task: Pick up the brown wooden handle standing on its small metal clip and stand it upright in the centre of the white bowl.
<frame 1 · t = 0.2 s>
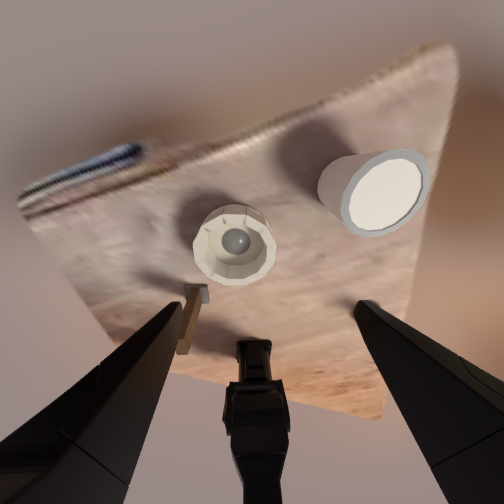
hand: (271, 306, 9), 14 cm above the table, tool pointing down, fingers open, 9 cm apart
white tapered cylinder: (341, 183, 20), on the table
white bowl: (236, 239, 23), on the table
brown wooden handle: (197, 292, 27), on the table
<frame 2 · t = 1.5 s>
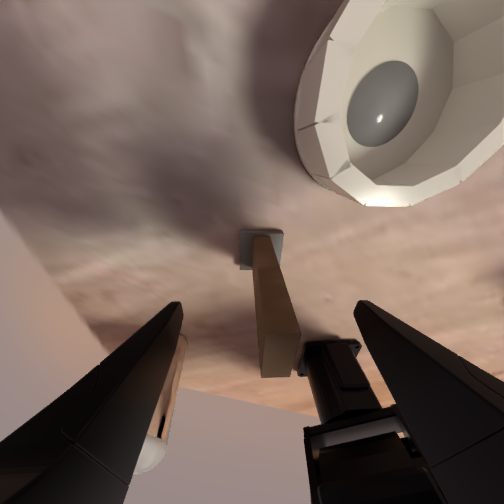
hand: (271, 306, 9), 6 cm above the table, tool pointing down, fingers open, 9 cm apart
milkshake: (171, 337, 19), on the table
white bowl: (374, 110, 10), on the table
brown wooden handle: (260, 249, 14), on the table
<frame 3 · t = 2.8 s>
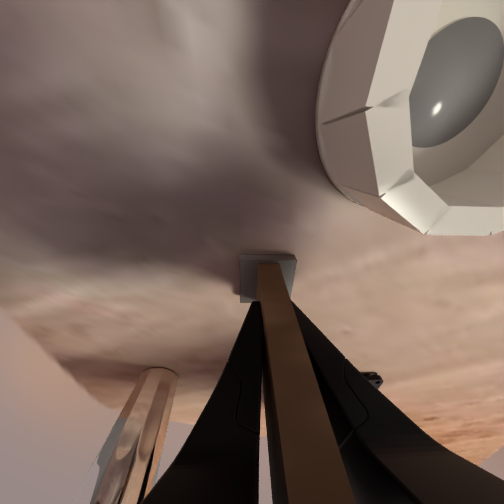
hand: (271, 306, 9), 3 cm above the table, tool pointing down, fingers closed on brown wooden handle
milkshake: (159, 372, 16), on the table
white bowl: (429, 96, 7), on the table
brown wooden handle: (265, 276, 11), on the table, touching gripper
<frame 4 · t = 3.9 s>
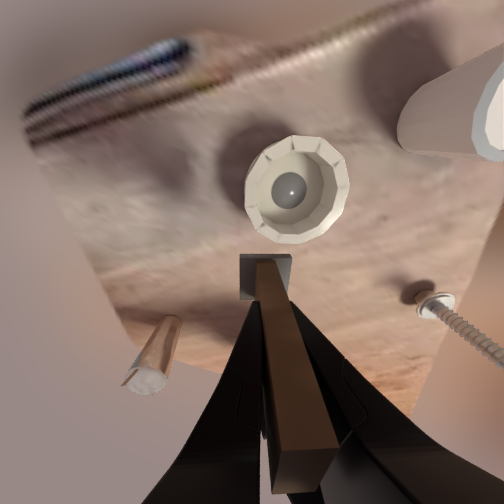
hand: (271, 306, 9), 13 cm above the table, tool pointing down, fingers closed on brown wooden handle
white tapered cylinder: (426, 118, 16), on the table
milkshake: (171, 319, 27), on the table
white bowl: (287, 190, 19), on the table
screw: (421, 295, 27), on the table
brown wooden handle: (263, 275, 12), point 10 cm above the table, touching gripper
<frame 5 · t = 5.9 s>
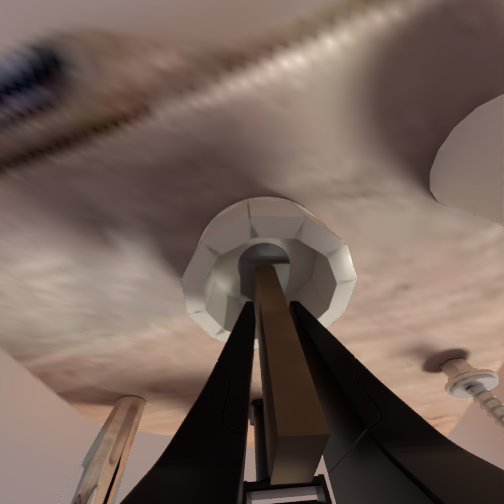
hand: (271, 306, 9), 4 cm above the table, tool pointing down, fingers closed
white tapered cylinder: (478, 157, 10), on the table
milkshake: (131, 398, 22), on the table
white bowl: (263, 261, 13), on the table
screw: (450, 362, 21), on the table
brown wooden handle: (263, 280, 12), point 1 cm above the table, tilted 5°, touching white bowl
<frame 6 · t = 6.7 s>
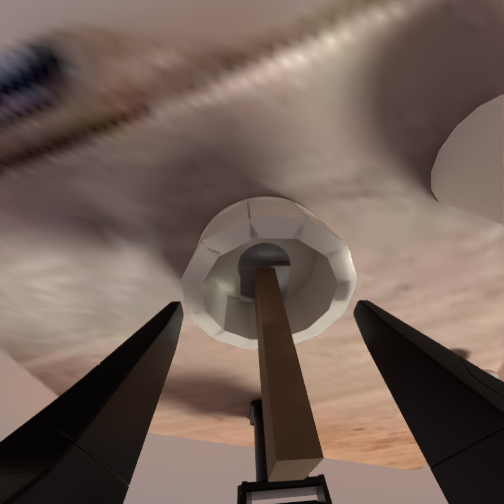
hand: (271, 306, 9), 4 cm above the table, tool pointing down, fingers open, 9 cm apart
white tapered cylinder: (480, 156, 10), on the table
white bowl: (263, 262, 13), on the table
brown wooden handle: (263, 279, 13), point 1 cm above the table, touching white bowl
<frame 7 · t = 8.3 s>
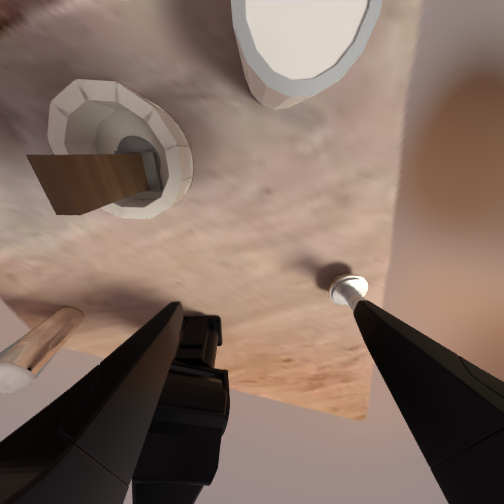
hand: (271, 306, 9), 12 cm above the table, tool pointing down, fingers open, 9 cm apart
white tapered cylinder: (279, 65, 14), on the table
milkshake: (71, 311, 25), on the table
white bowl: (143, 159, 16), on the table
screw: (340, 280, 25), on the table
brown wooden handle: (141, 171, 16), point 1 cm above the table, touching white bowl
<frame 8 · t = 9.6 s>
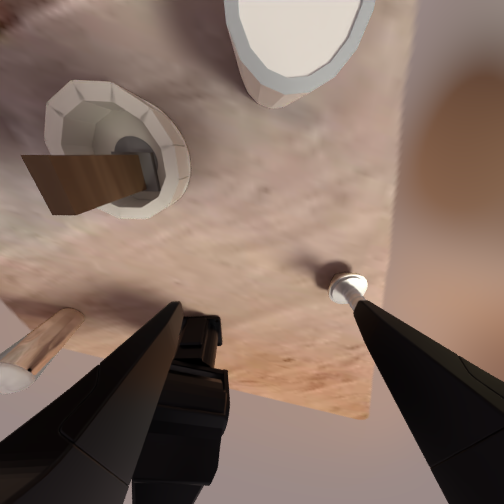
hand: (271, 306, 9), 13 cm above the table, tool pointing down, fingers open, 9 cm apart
white tapered cylinder: (275, 64, 14), on the table
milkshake: (71, 312, 26), on the table
white bowl: (140, 159, 16), on the table
screw: (339, 278, 25), on the table
brown wooden handle: (139, 172, 16), point 1 cm above the table, touching white bowl
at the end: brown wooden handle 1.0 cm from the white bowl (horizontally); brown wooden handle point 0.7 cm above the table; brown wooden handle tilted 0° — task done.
